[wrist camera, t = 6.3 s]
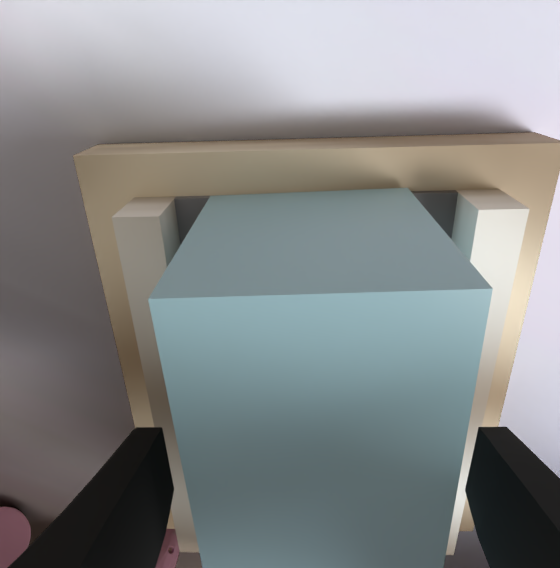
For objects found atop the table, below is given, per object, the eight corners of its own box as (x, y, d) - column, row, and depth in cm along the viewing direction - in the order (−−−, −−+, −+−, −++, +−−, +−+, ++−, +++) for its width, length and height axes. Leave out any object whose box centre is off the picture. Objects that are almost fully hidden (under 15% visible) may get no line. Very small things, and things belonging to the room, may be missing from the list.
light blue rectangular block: (383, 513, 15) (419, 703, 11) (248, 514, 15) (229, 701, 11) (407, 187, 10) (492, 288, 6) (210, 195, 11) (147, 299, 6)
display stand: (459, 493, 17) (489, 575, 14) (168, 492, 18) (145, 571, 15) (534, 132, 11) (608, 156, 9) (98, 144, 12) (39, 170, 9)
